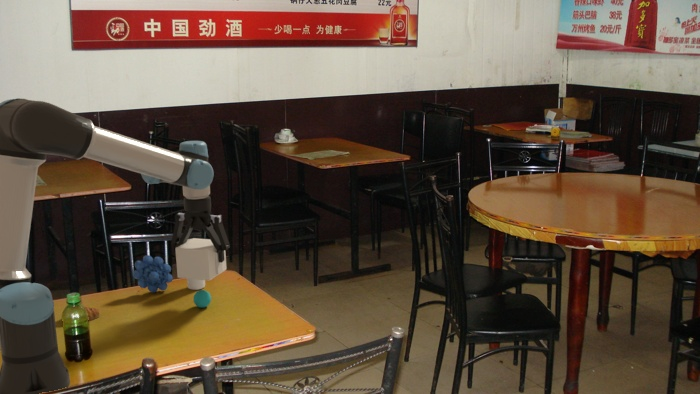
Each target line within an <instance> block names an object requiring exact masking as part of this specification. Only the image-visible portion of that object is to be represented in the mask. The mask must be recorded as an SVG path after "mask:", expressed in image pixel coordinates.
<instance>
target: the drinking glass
mask: <svg viewBox="0 0 700 394" xmlns="http://www.w3.org/2000/svg"><path fill="white" fill-rule="evenodd" d="M191 239H192V238H188V240H187V241H189V240H191ZM186 282H187V288H188V289H189V290H191V291H192V290H193V291H200V290H203V288H205V286H206V280H197V279H186Z"/></svg>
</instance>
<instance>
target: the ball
mask: <svg viewBox="0 0 700 394" xmlns="http://www.w3.org/2000/svg"><path fill="white" fill-rule="evenodd" d="M211 302H212V295H211V293H210V292H209V291H207V290H205V289H199V290H197V291H196V293H195V294H194V295H193V303H194V305H195V306H196V307H198V308H206V307H208V306H209V305H210V304H211Z"/></svg>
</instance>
